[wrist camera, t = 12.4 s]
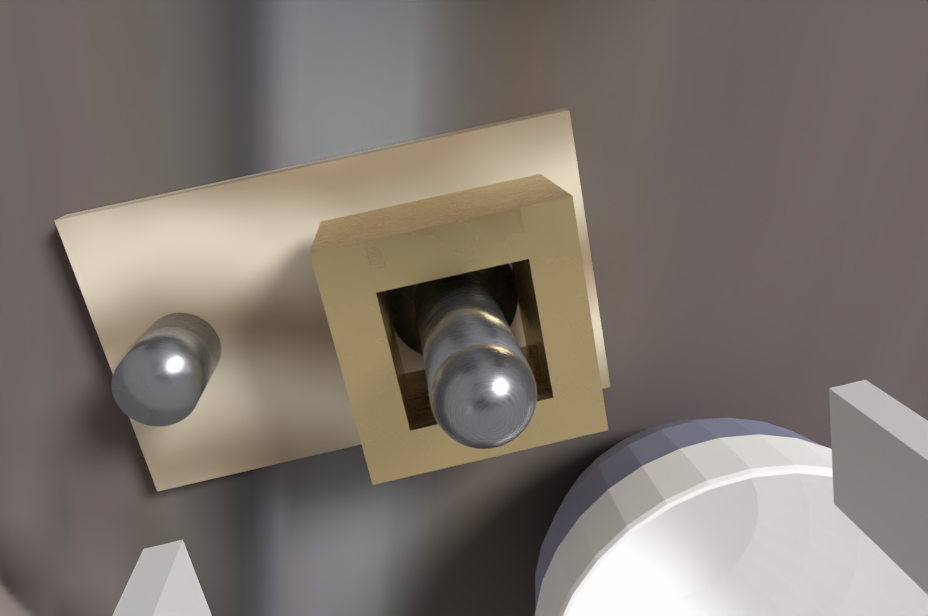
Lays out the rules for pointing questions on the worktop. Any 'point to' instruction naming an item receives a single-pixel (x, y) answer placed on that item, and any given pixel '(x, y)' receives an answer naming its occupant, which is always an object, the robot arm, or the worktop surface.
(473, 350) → the tall steel post
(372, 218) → the brass collar
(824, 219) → the worktop surface
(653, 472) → the bowl
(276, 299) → the birch board
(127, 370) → the short steel post
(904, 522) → the robot arm
